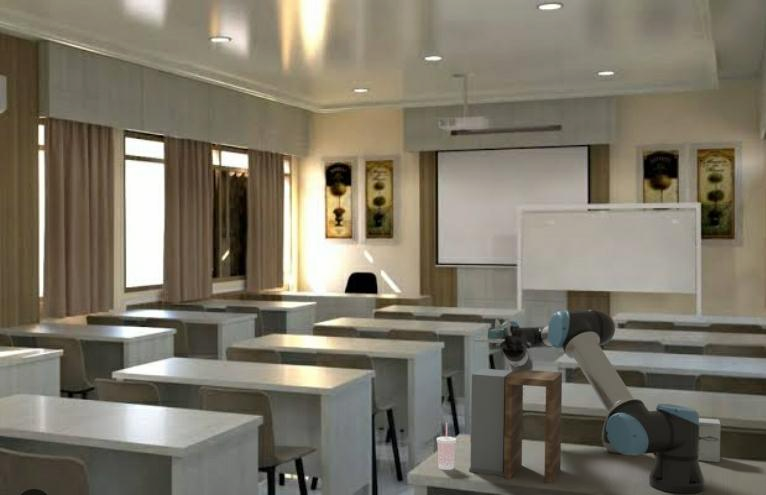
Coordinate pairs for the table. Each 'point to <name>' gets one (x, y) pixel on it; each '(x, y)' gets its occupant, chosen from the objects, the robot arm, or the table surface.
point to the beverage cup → (446, 452)
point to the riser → (515, 416)
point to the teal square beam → (495, 335)
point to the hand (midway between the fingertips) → (501, 323)
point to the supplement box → (709, 440)
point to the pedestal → (488, 421)
